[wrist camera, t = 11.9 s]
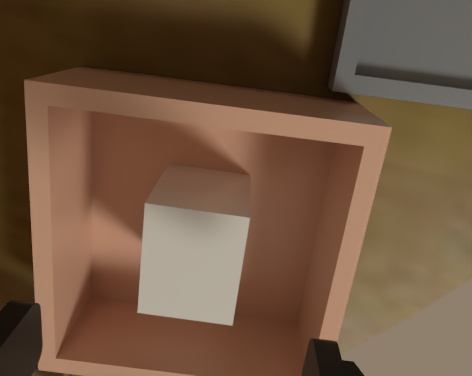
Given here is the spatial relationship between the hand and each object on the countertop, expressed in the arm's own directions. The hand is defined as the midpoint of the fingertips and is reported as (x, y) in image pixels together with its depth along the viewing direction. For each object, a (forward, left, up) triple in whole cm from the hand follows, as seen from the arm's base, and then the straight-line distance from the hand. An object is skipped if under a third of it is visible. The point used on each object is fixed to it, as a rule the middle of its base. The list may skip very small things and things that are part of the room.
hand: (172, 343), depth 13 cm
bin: (0, 0, -10) cm, 10 cm away
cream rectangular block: (0, 0, -10) cm, 10 cm away
